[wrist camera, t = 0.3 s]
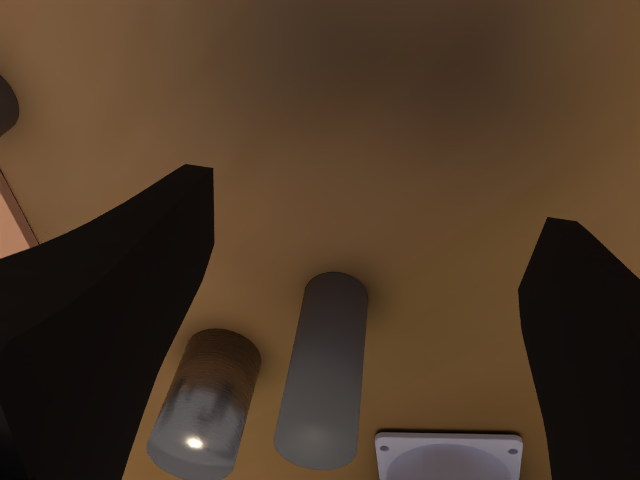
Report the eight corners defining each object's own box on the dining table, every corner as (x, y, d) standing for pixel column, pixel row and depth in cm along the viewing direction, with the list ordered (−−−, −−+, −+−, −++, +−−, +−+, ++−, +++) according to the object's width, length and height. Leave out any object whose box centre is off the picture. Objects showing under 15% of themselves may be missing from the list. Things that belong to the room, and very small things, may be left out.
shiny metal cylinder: (267, 380, 32) (242, 483, 27) (197, 380, 32) (161, 480, 27) (252, 328, 29) (222, 430, 24) (177, 329, 30) (134, 428, 25)
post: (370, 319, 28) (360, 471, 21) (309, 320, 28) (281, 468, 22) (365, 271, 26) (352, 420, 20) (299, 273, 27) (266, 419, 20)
